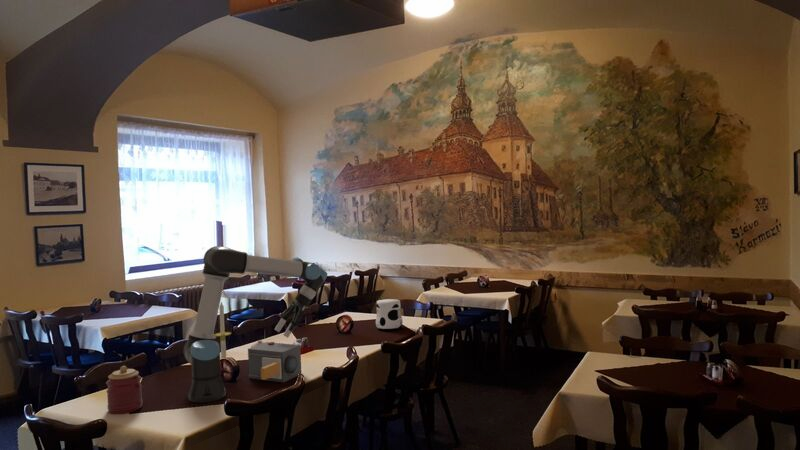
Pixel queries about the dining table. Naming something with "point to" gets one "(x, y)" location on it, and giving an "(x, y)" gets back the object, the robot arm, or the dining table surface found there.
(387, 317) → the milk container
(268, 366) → the side door
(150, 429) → the dining table surface
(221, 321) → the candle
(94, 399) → the dining table surface
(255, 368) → the camera body
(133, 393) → the canister
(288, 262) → the robot arm
